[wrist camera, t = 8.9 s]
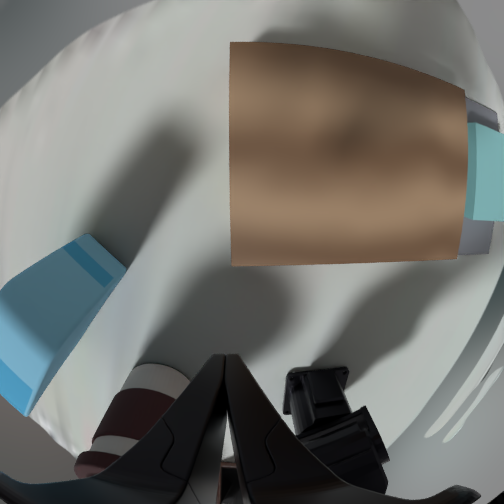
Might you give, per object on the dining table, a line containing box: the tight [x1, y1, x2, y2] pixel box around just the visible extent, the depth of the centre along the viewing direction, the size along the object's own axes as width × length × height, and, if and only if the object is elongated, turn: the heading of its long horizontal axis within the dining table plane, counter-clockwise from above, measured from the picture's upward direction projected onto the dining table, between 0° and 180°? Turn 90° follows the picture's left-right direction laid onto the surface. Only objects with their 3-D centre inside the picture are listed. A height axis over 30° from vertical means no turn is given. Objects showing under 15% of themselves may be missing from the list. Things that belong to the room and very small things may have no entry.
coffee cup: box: [74, 364, 190, 479], centre depth 18 cm, size 10×10×15 cm
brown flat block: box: [229, 42, 468, 266], centre depth 17 cm, size 14×18×4 cm
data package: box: [0, 234, 126, 416], centre depth 16 cm, size 12×4×12 cm, turn 136°
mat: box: [458, 97, 498, 255], centre depth 20 cm, size 16×10×1 cm, turn 0°
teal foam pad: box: [464, 122, 504, 222], centre depth 18 cm, size 9×6×2 cm, turn 1°
